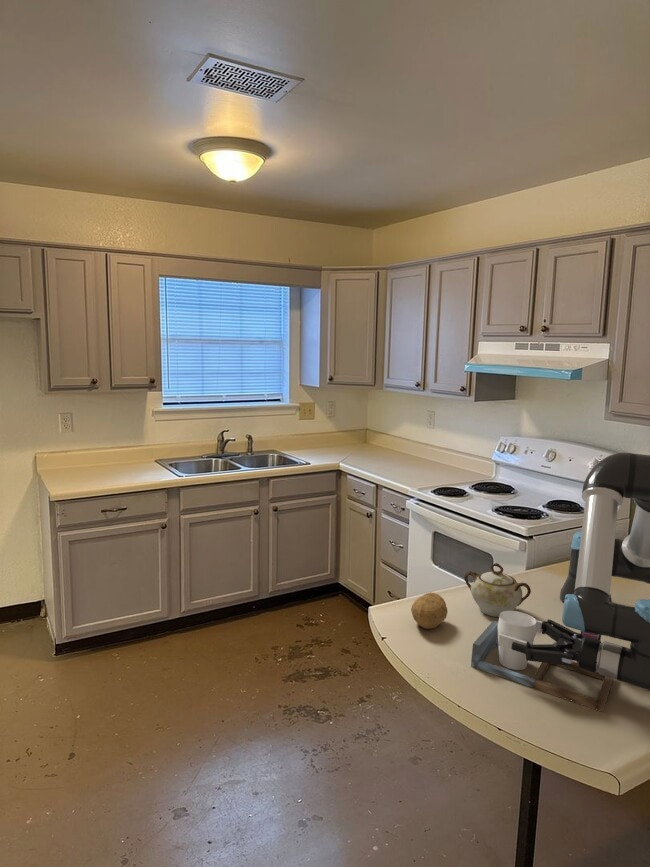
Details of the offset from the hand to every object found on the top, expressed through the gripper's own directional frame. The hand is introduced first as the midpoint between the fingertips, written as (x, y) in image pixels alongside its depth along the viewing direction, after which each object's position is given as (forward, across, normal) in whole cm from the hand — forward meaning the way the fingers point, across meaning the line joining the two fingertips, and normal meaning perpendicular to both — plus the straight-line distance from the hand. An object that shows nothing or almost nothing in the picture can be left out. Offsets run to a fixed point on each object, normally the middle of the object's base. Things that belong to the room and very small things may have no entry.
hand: (507, 629), depth 148 cm
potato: (+24, +6, -9) cm, 26 cm away
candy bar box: (-17, +16, -9) cm, 25 cm away
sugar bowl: (+12, +28, -9) cm, 31 cm away
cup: (-2, 0, -9) cm, 9 cm away
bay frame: (-9, 0, -9) cm, 12 cm away
